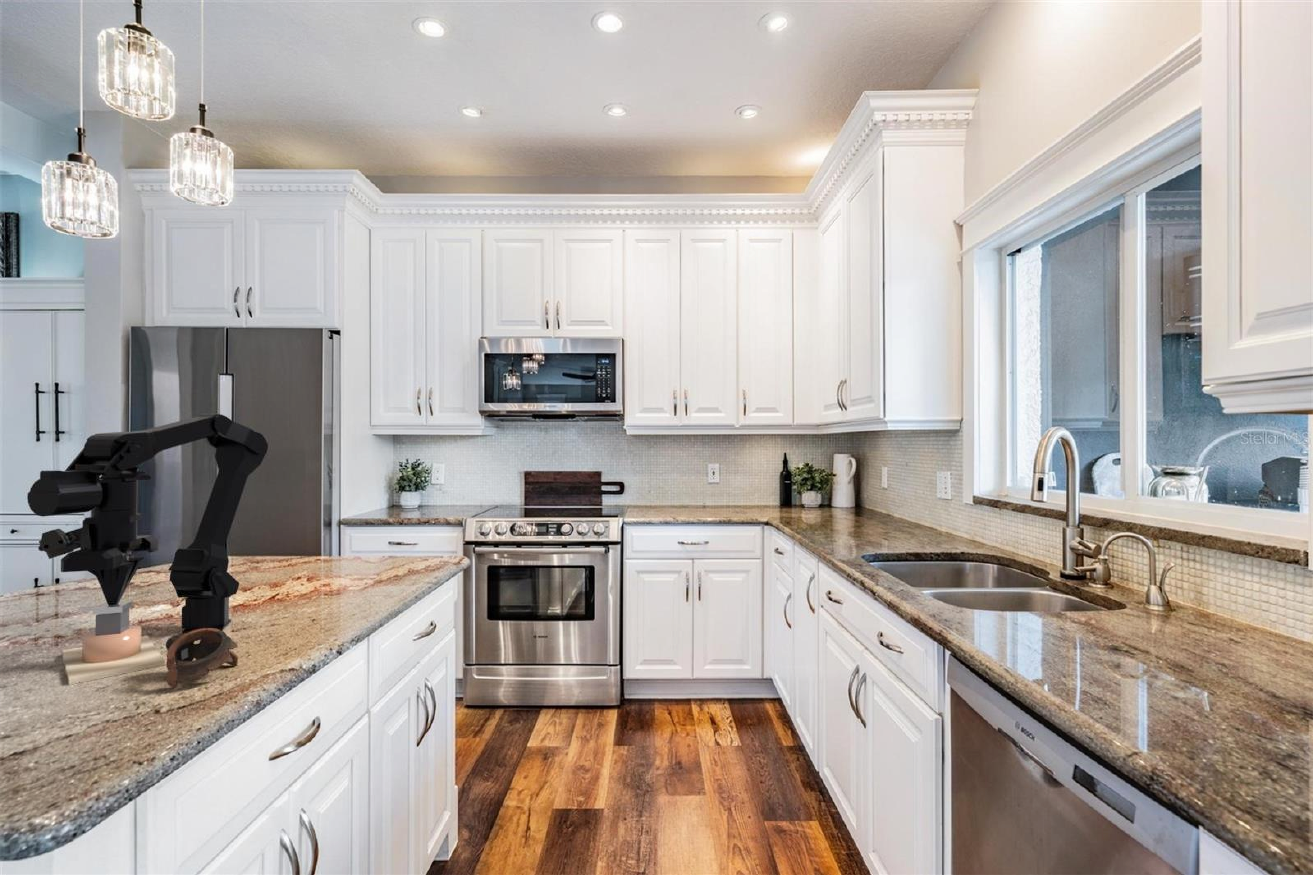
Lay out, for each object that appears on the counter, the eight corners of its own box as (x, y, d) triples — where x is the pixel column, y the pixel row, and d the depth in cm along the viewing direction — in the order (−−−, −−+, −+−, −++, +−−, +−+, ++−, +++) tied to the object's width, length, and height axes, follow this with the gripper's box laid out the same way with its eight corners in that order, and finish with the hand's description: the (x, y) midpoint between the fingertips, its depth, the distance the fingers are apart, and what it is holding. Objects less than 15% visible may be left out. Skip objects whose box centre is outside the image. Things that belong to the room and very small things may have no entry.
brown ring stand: (258, 668, 97) (249, 632, 93) (204, 717, 89) (191, 679, 85) (197, 644, 99) (185, 608, 95) (139, 690, 91) (123, 652, 87)
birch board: (61, 655, 101) (61, 650, 101) (147, 640, 109) (147, 635, 109) (69, 684, 89) (69, 679, 89) (164, 665, 97) (164, 660, 97)
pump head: (132, 625, 102) (132, 600, 102) (121, 632, 98) (122, 606, 98) (84, 629, 99) (85, 604, 99) (72, 636, 96) (73, 610, 96)
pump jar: (148, 645, 104) (149, 604, 104) (130, 659, 97) (130, 615, 97) (94, 651, 101) (95, 608, 101) (72, 665, 94) (73, 620, 94)
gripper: (80, 505, 105) (79, 595, 105) (14, 518, 88) (13, 626, 88) (159, 503, 109) (158, 590, 109) (112, 515, 92) (110, 618, 92)
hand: (113, 604), depth 99 cm, fingers closed, pressing on pump head
